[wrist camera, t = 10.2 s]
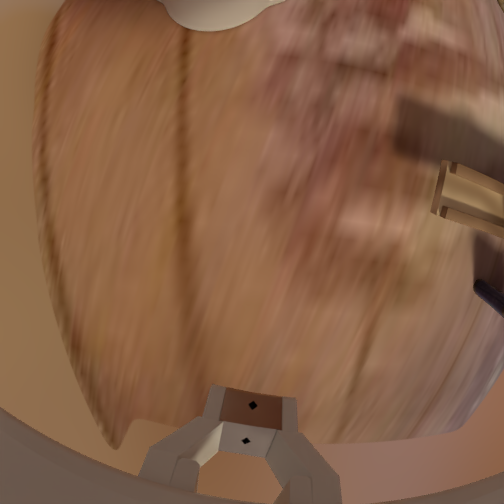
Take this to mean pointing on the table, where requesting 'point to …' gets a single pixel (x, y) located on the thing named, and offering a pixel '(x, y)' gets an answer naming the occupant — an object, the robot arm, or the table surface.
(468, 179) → the beam
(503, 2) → the ceramic model
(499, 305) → the flask
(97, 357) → the table surface
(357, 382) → the table surface
